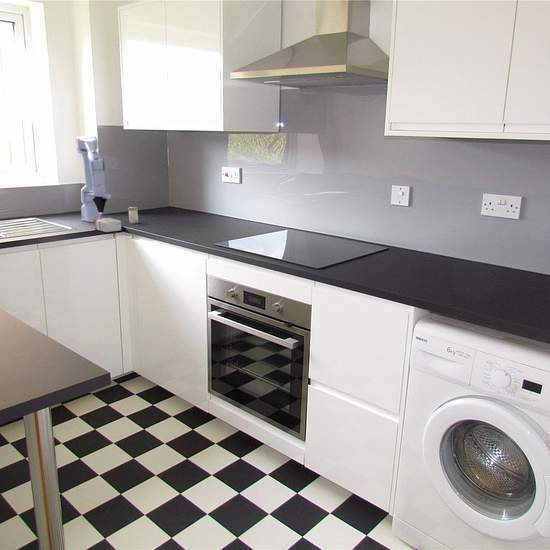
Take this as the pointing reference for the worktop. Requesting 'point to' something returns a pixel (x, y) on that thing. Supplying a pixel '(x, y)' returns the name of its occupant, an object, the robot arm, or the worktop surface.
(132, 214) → the spice jar
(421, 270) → the worktop surface
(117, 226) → the ink box
